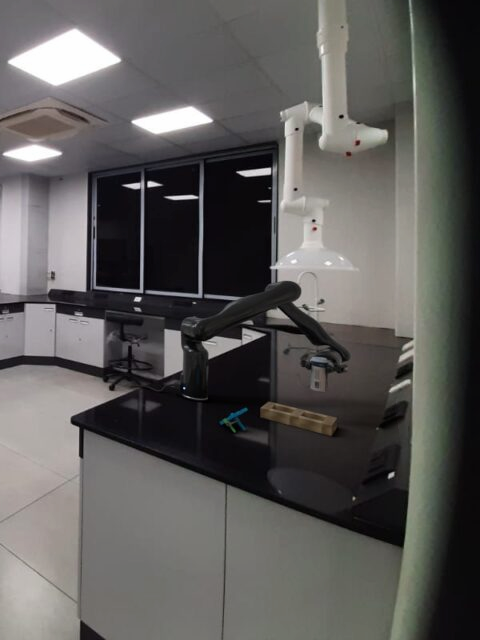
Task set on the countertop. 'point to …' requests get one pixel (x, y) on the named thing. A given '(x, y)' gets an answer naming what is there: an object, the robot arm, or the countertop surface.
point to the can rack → (299, 418)
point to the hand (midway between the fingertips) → (318, 368)
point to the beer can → (319, 374)
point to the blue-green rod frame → (235, 418)
